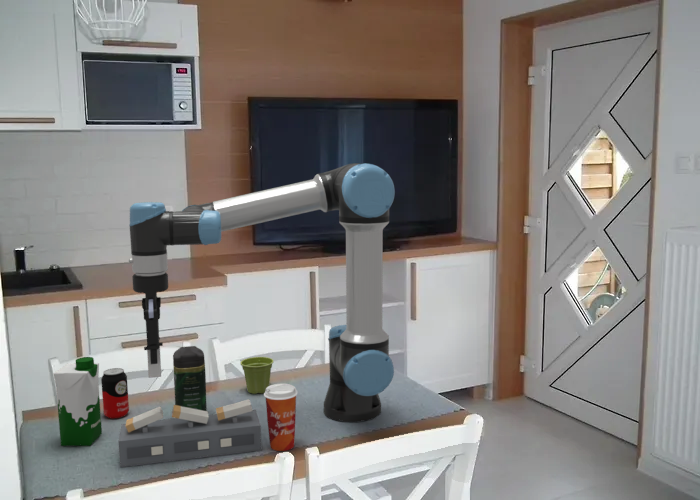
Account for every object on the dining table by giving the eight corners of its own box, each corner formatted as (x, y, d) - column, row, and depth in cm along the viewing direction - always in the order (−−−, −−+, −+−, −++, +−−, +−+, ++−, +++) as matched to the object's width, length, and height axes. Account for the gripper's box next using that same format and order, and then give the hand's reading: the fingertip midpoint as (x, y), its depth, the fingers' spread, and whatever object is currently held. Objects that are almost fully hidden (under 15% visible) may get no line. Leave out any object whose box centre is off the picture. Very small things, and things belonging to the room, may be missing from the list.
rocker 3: (250, 405, 164) (249, 399, 163) (252, 411, 160) (251, 404, 160) (217, 414, 162) (215, 408, 162) (218, 420, 158) (216, 413, 158)
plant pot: (234, 392, 197) (233, 363, 195) (257, 383, 204) (256, 354, 203) (259, 398, 191) (258, 368, 190) (281, 388, 199) (280, 359, 198)
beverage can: (102, 420, 177) (99, 375, 176) (105, 411, 183) (102, 368, 182) (127, 418, 179) (125, 373, 177) (130, 409, 185) (127, 366, 183)
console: (256, 433, 168) (255, 404, 167) (261, 451, 158) (260, 421, 157) (123, 448, 161) (121, 419, 160) (119, 468, 151) (117, 436, 150)
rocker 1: (163, 412, 159) (160, 406, 158) (163, 418, 155) (160, 411, 155) (129, 426, 157) (126, 419, 157) (128, 432, 154) (125, 426, 153)
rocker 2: (205, 418, 161) (207, 411, 161) (206, 423, 158) (208, 417, 158) (171, 411, 159) (173, 404, 159) (171, 417, 156) (173, 410, 155)
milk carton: (92, 447, 161) (86, 365, 158) (54, 447, 162) (48, 365, 159) (107, 432, 170) (101, 353, 167) (70, 432, 170) (64, 353, 167)
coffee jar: (208, 423, 174) (205, 352, 172) (176, 427, 172) (172, 355, 170) (205, 410, 184) (202, 342, 181) (175, 413, 181) (171, 345, 179)
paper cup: (271, 455, 156) (269, 396, 154) (261, 442, 163) (259, 385, 161) (304, 449, 159) (302, 390, 157) (293, 436, 166) (291, 380, 164)
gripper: (133, 268, 157) (138, 368, 160) (130, 279, 145) (136, 387, 148) (167, 267, 159) (172, 366, 162) (167, 277, 146) (172, 384, 150)
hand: (154, 376), depth 155 cm, fingers closed
